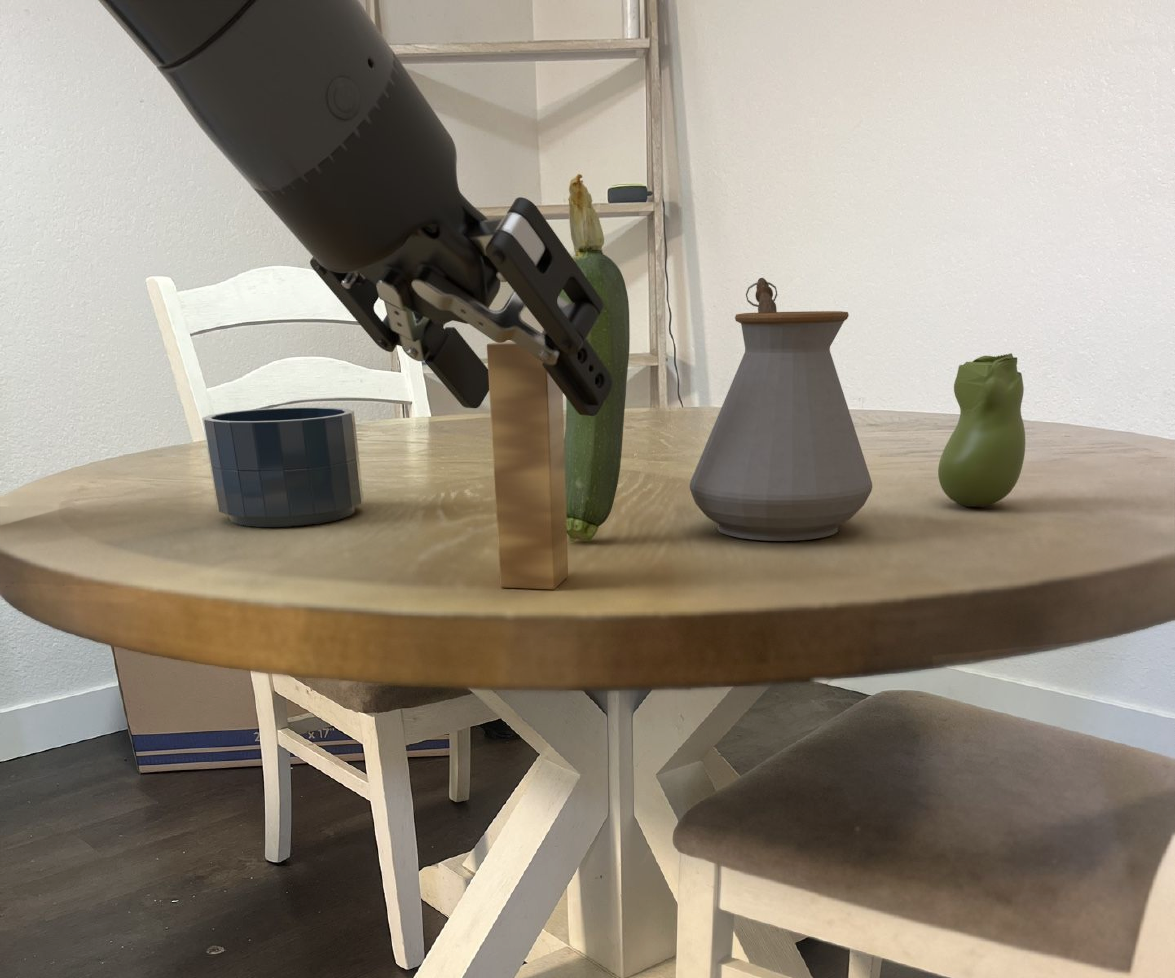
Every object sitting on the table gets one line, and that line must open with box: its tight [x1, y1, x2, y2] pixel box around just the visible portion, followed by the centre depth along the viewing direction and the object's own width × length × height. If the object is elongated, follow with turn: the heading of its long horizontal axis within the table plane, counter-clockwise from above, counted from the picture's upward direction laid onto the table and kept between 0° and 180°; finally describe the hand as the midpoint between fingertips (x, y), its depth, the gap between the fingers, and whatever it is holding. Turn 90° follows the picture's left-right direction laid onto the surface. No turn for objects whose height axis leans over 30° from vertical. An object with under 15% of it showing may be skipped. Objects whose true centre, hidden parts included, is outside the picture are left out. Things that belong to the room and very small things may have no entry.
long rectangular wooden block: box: [486, 340, 569, 591], centre depth 54 cm, size 3×3×12 cm
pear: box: [937, 352, 1026, 508], centre depth 71 cm, size 6×5×10 cm
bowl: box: [201, 406, 364, 528], centre depth 74 cm, size 10×10×7 cm
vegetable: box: [559, 173, 631, 543], centre depth 61 cm, size 4×4×20 cm
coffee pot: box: [689, 277, 873, 542], centre depth 69 cm, size 21×12×15 cm, turn 178°
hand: (536, 398), depth 53 cm, fingers open, 8 cm apart
